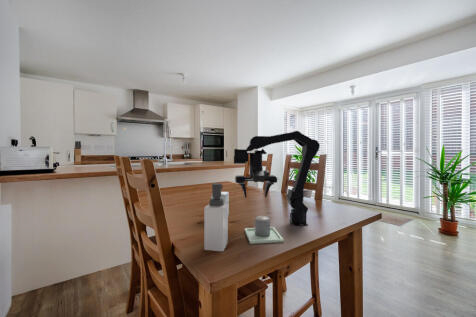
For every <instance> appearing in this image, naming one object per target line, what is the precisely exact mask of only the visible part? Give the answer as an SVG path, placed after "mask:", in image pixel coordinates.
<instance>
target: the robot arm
mask: <svg viewBox="0 0 476 317" xmlns="http://www.w3.org/2000/svg"><path fill="white" fill-rule="evenodd" d="M289 141H294V142H295V143H297V144H298V145H299V146H300V147H301V160H300V164H299V166H298V167H299V168H298V170H297V174H296V178H295V181H294V184H293V186H292V188H288V189H287V195H286V196H285V197H286V201H287V204H289V206H290V208H291V209H290V212H289V222H290V223H291V224H292V225H293V226H295V227H296V226H297V227H298V226H308V225H309V224H308V223H307V213H308V210H309V207H307V206H306V205H305V203H304V196H305V195H304V188H305V184H306V182H307V177H308V176H309V175H308V174H309V171H310V169H311V164H312V161H313V159H314V158H315V157H316V155H317V154H318V151H319V149H320V148H321V147H320V145H321V144H320V142H319V141H318V140H316V139H312V138H311V137H309V136H307V135H305V134H303V133H302V132H301V131H298V130H294V131H293V132H292V131H291V132H285V133H280V134H279V133H278V134H274V135H266V136H265V135H259V136H258V135H255V136H253V137H252V138H251V139H250V140H249V144H248V146H247V147H246V149H238V148H234V149H233V152H234V154H233V164H235V165H236V164H237V165H238V164H239V165H243V164H244V165H247V162H249V176H244V175H241V174H240V175H238V174H237V175H235V177H234V181H235V183H236V184H238V185H239V186H240V187H241V190H242V191H243V195H244V198H245V199H247V187H246V186H247V185H246V184H247V183H246V182H254V183H259V182H261V183H264V193H263V194H264V198H267V196H268V194H269V191H270V189H271V187H272V185H275V183H278V177H277V176H276V175H273V174H270V171H269V170H263V168H264V167H263V155H267V152H266V151H265V150H264V148H265V147H267V146H269V145H273V144H278V143H284V142H289ZM259 149H260V150H259ZM252 151H253V152H252Z"/></svg>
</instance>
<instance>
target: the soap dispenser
mask: <svg viewBox="0 0 476 317" xmlns="http://www.w3.org/2000/svg"><path fill="white" fill-rule="evenodd" d="M211 186H212V188H211V191H212V193H211V194H212V197H214V198H213V199H211V198H210V199H209V203H208V204H207V205H206V206H204V209H203V210H204V211H203V212H204V213H203V214H204V218H203V219H204V220H203V221H204V227H203V228H204V229H203V230H204V234H203V235H204V239H203V240H204V242H203V243H204V245H203V246H204V251H213V252H224V250H225V248H226V247H227V245H228V241H229V240H228V238H229V237H228V231H229V229H228V225H229V224H228V222H229V221H228V220H229V219H228V217H229V214H228V204H225V203H223V199H220V197H221V192H222V189H223V184H222V183H221V182H219V183H218V182H217V183H215V182H213V183H211Z"/></svg>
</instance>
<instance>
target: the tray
mask: <svg viewBox="0 0 476 317" xmlns="http://www.w3.org/2000/svg"><path fill="white" fill-rule="evenodd" d="M244 233H245V236H246V237H247V239H248V242H249V244H250V245H252V244H256V245H257V244H274V243H285V242H284V240H285V239H284V238H283V237H282V236H281V234H280V233H279V232H278V230H277V228H276V227H275V226H273V227H272V226H270V236H268V237H258V236H256V235H255V227H244Z"/></svg>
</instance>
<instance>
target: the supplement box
mask: <svg viewBox="0 0 476 317" xmlns="http://www.w3.org/2000/svg"><path fill="white" fill-rule="evenodd" d="M229 193H230V192H229V191H221V197H220V199H223V203H225V204H228V215H229V210H230V209H229V208H230V207H229V205H230V204H229V201H230V200H229V199H230V198H229V196H230V194H229ZM210 197H211V198H210V199H213V198H214V197H212V193H211V195H210Z"/></svg>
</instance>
